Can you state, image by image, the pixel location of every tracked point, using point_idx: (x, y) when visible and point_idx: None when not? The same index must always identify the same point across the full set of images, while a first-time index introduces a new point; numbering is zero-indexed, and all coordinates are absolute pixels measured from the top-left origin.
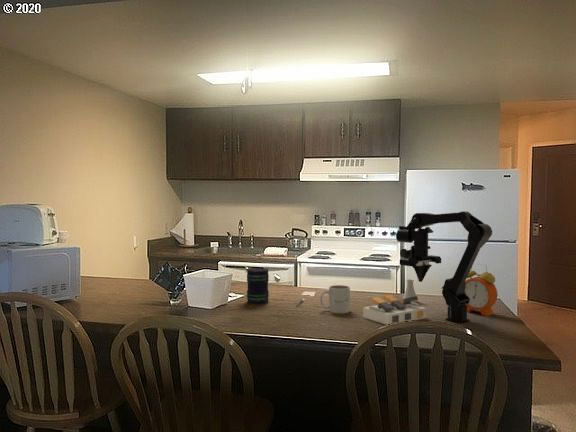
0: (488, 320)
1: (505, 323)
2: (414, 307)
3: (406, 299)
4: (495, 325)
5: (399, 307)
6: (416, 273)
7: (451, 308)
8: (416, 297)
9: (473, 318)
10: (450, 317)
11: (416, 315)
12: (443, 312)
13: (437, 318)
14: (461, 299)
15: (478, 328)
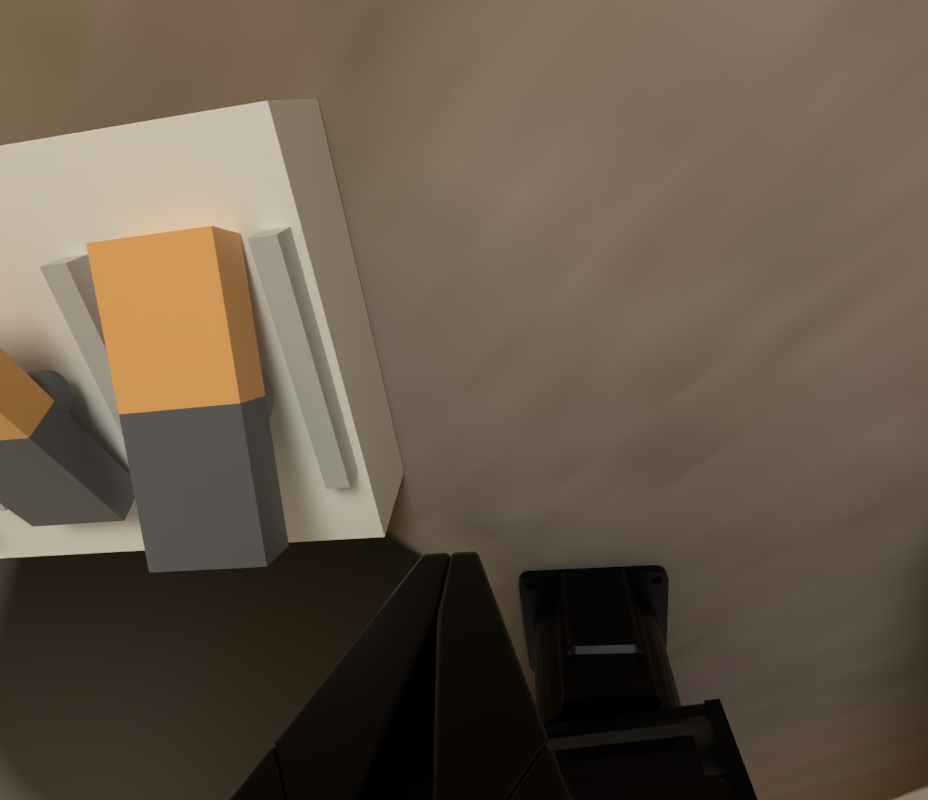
0: (810, 693)
1: (824, 764)
2: (280, 471)
3: (143, 479)
4: None
5: (36, 521)
6: (269, 766)
7: (536, 706)
8: (256, 561)
9: (773, 624)
10: (538, 621)
11: None
12: (753, 381)
13: (498, 514)
14: (723, 770)
15: None
